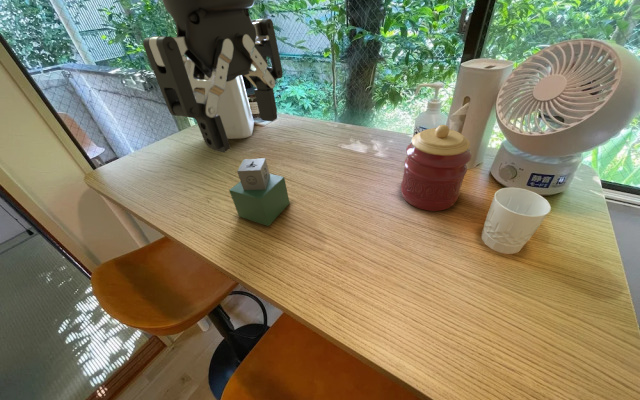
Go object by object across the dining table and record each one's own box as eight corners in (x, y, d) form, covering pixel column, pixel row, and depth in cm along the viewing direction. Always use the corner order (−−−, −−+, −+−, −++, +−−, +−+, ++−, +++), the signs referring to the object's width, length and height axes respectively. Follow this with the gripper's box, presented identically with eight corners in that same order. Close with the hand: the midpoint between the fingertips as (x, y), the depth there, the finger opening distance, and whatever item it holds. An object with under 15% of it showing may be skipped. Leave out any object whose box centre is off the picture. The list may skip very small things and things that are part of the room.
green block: (268, 226, 58) (260, 199, 53) (239, 216, 62) (228, 190, 57) (289, 203, 64) (284, 176, 59) (261, 195, 68) (254, 169, 63)
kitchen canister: (433, 175, 68) (448, 109, 57) (470, 203, 58) (496, 130, 47) (390, 187, 66) (397, 120, 55) (420, 218, 56) (437, 145, 45)
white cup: (517, 229, 51) (539, 189, 45) (532, 260, 45) (560, 218, 39) (473, 224, 53) (489, 185, 47) (482, 253, 47) (501, 213, 41)
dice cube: (243, 190, 56) (237, 171, 53) (249, 177, 60) (243, 159, 57) (265, 189, 56) (260, 169, 53) (270, 176, 60) (265, 158, 57)
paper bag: (227, 145, 95) (198, 61, 77) (209, 136, 103) (179, 59, 86) (268, 128, 104) (250, 50, 87) (248, 120, 113) (229, 48, 96)
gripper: (223, -49, 26) (260, 110, 36) (65, -66, 16) (175, 157, 26) (283, -63, 23) (305, 115, 33) (132, -95, 13) (228, 170, 23)
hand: (247, 133), depth 30 cm, fingers open, 8 cm apart
